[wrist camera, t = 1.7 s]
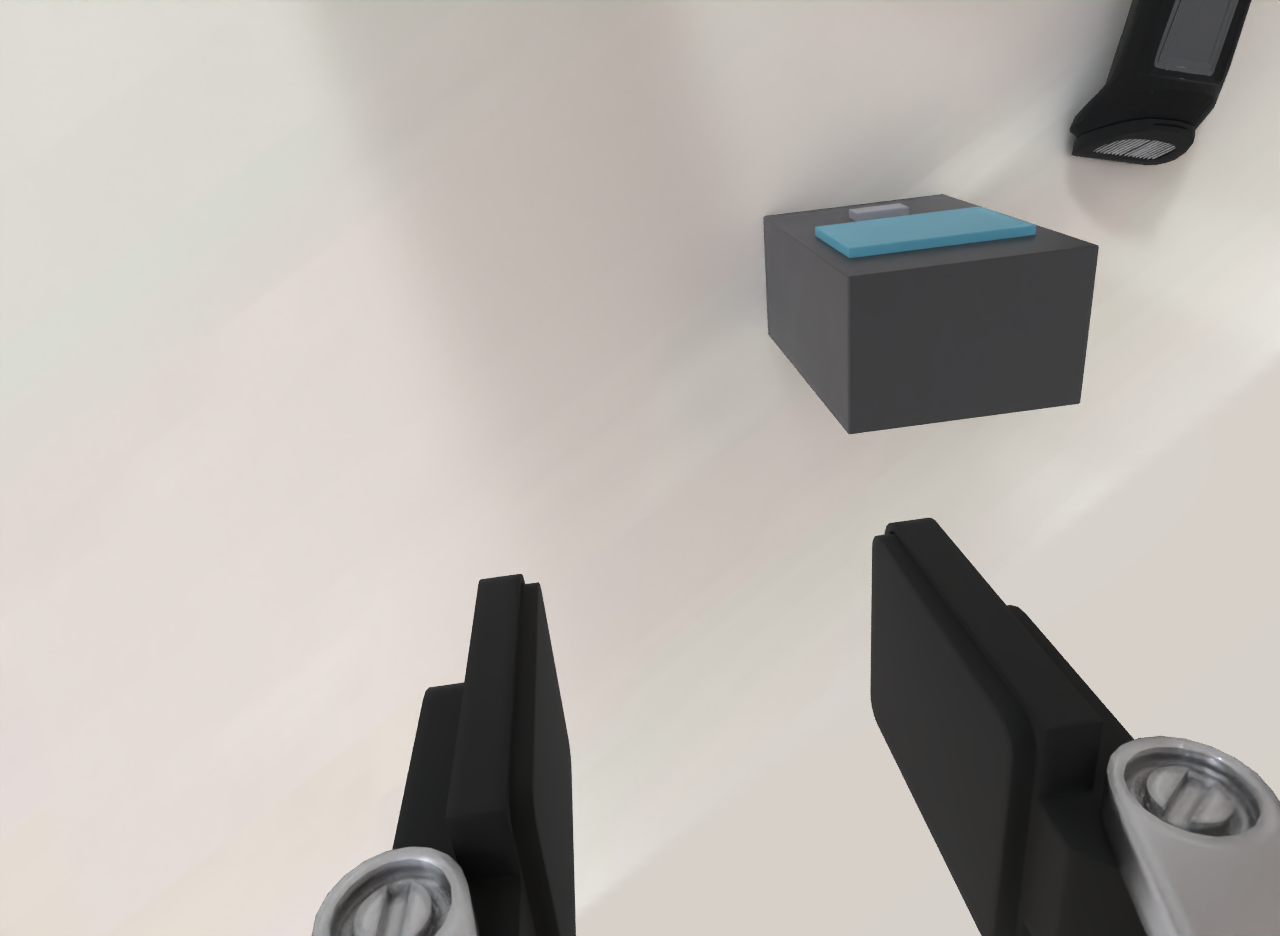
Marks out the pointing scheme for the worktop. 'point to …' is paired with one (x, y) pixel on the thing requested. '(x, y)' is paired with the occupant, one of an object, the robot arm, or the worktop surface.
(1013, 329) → the dark grey box
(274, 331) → the worktop surface
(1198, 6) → the electric trimmer
